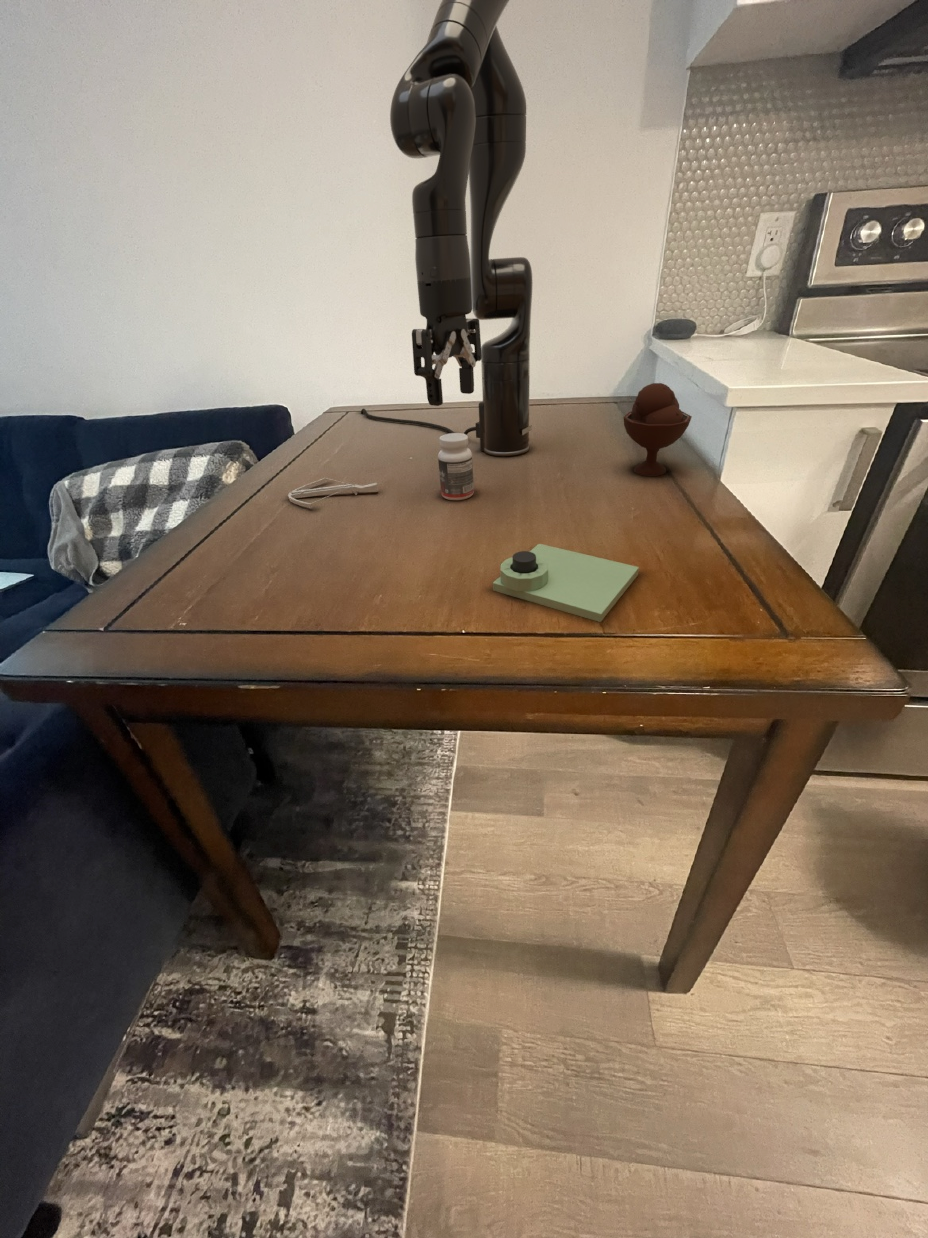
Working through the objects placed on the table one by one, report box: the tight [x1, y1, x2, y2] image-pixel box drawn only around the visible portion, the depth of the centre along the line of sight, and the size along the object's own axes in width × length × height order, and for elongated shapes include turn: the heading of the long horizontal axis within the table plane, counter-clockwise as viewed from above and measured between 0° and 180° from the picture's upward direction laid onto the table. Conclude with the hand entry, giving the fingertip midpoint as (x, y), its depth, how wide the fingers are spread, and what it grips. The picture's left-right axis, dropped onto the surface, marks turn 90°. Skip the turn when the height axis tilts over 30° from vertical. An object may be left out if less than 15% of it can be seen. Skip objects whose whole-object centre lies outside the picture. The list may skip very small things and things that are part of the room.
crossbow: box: [287, 477, 380, 509], centre depth 96 cm, size 16×13×2 cm
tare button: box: [512, 550, 536, 574], centre depth 65 cm, size 3×3×2 cm
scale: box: [492, 543, 640, 623], centre depth 66 cm, size 14×12×3 cm
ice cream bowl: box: [623, 382, 693, 477], centre depth 94 cm, size 11×11×15 cm
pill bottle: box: [437, 432, 475, 501], centre depth 91 cm, size 6×6×10 cm
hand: (452, 398), depth 85 cm, fingers open, 8 cm apart
